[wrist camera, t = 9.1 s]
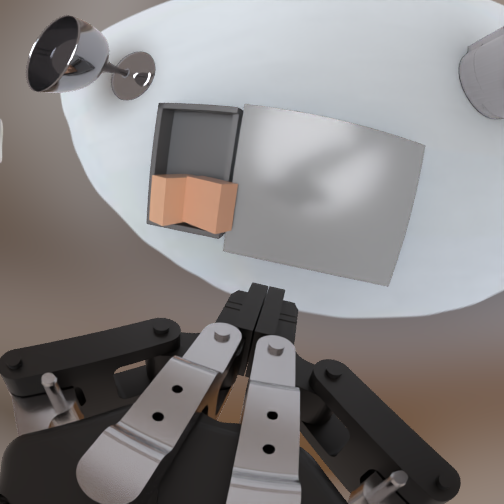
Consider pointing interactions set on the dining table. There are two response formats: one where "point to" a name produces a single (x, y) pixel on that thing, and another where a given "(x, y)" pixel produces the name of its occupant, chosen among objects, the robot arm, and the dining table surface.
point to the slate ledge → (322, 193)
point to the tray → (195, 146)
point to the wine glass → (83, 61)
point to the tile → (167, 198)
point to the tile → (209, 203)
